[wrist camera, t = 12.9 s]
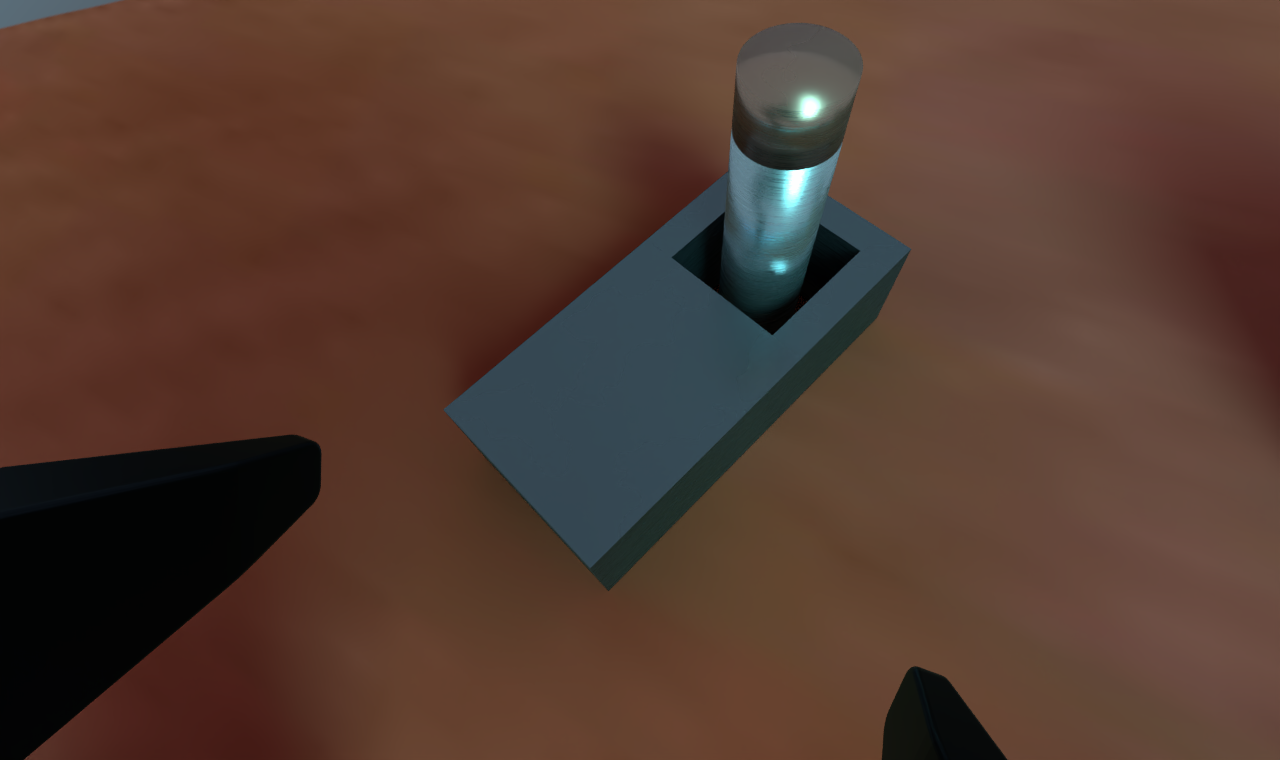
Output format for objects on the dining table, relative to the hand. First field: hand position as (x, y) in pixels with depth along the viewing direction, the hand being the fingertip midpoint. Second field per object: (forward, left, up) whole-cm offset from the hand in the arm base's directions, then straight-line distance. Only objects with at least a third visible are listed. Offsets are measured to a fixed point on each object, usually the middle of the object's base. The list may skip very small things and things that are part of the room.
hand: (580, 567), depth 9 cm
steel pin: (+12, +5, -14) cm, 19 cm away
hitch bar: (+8, +5, -14) cm, 17 cm away
